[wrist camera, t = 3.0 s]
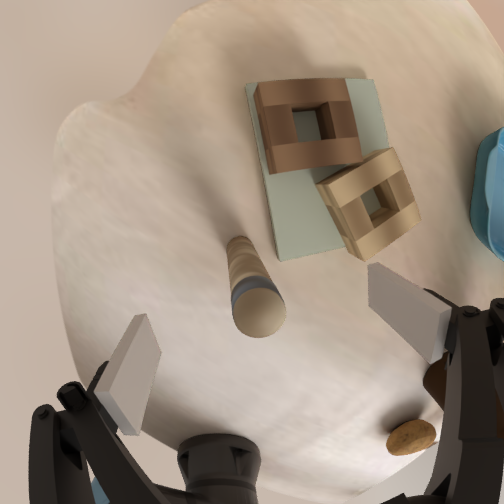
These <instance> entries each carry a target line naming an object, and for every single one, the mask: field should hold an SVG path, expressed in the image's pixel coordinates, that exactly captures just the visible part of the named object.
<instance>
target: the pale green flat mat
mask: <svg viewBox="0 0 504 504" xmlns="http://www.w3.org/2000/svg"><path fill="white" fill-rule="evenodd" d="M309 79H314V78H309ZM289 80H292V79H289ZM276 81H278V80H276ZM345 81H346V84H347V88H348V92H349V96H350V100H351V104H352V108H353V112H354V117H355V121H356V126H357V131H358V135H359V141H360V146H361V151H362V157H363V156H365V155H367V154H369V153H370V152H372V151H374V150H379V149H385V148H389V143H388V138H387V133H386V128H385V123H384V119H383V114H382V110H381V106H380V102H379V98H378V94H377V90H376V87H375V83H374V80H371V79H352V78H345ZM266 82H267V81H266ZM257 84H258V82H257V83H249V84H246V85H245V90H246V95H247V100H248V104H249V109H250V114H251V119H252V123H253V128H254V133H255V138H256V143H257V148H258V153H259V158H260V163H261V168H262V174H263V179H264V184H265V189H266V195H267V200H268V206H269V211H270V217H271V222H272V228H273V233H274V239H275V245H276V251H277V256H278V260H279V261H280V262H282V261H286V260H290V259H295V258H299V257H304V256H308V255H313V254H317V253H321V252H326V251H330V250H334V249H339V248H343V247H346V246H345V244H344V242H343V240H342V238H341V235H340V233H339V231H338V229H337V227H336V225H335V223H334V221H333V219H332V217H331V215H330V213H329V211H328V209H327V207H326V205H325V203H324V201H323V199H322V198H321V196H320V194H319V192H318V190H317V188H316V186H315V184H316V183H318V182H320V181H321V180H323V179H325V178H327V177H328V176H330V175H332V174H333V173H335V172H337V171H339V170H340V169H342V168H344V167H346V166H347V165H349V164H351V163H348V164H339V165H331V166H324V167H316V168H309V169H302V170H296V171H289V172H283V173H277V174H271V175H269V170H268V165H267V160H266V155H265V150H264V145H263V140H262V135H261V130H260V125H259V120H258V116H257V111H256V106H255V102H254V97H253V94H254V92H255V89H256V87H257ZM292 114H293V118H294V123H295V128H296V132H297V137H298V142H308V141H317V140H321V136H320V132H319V127H318V122H317V118H316V113H315V111H303V112H292ZM360 197H361V199H362V202H363V204H364V206H365V208H366V210H367V213H368V215H370V214H372V213H373V212H375V211H376V210H378V209H379V208H381V206H380V203H379V201H378V198H377V196H376V194H375V192H374V189H373V188H371V189H370V190H368V191H367V192H365V193H363V194H362V195H360Z"/></svg>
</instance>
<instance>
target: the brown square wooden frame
mask: <svg viewBox="0 0 504 504" xmlns="http://www.w3.org/2000/svg"><path fill="white" fill-rule="evenodd" d="M253 97H254V102H255V106H256V111H257V116H258V120H259V125H260V130H261V135H262V140H263V145H264V150H265V155H266V160H267V165H268V170H269V175H271V174H277V173H283V172H289V171H296V170H302V169H309V168H316V167H324V166H331V165H339V164H348V163H356V162H363V157H362V151H361V146H360V141H359V135H358V131H357V126H356V121H355V117H354V112H353V108H352V104H351V100H350V96H349V92H348V88H347V84H346V81H345V78H314V79H292V80H278V81H267V82H258V84H257V87H256V89H255V92H254V94H253ZM303 111H315V113H316V118H317V122H318V127H319V132H320V136H321V140H317V141H308V142H298V137H297V132H296V128H295V123H294V118H293V114H292V112H303Z"/></svg>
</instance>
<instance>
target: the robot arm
mask: <svg viewBox="0 0 504 504" xmlns="http://www.w3.org/2000/svg"><path fill="white" fill-rule="evenodd" d="M368 296H369V307H370V308H372V309H373V310H374V311H375V312H376V313H377V314H378V315H379V316H380V317H381V318H382V319H383V320H384V321H386V322H387V323H388V324H389V325H390V326H391V327H392V328H393V329H394V330H395V331H396V332H397V333H398V334H399V335H400V336H401V337H403V338H404V339H405V340H406V341H407V342H408V343H409V344H410V345H411V346H412V347H413V348H414V349H415V350H416V351H417V352H418V353H419V354H420V355H421V356H422V357H423V358H424V359H425V360H426V361H427V362H428V363H429V364H432V363H434V362H436V361H437V360H439V359H441V358H442V355H443V351H444V348H446V349H447V350H448V351H449V354H448V358H447V361H446V365H445V369H444V370H446V369H447V383H446V397H445V407H444V415H443V423H442V429H441V436H440V441H439V447H438V452H437V456H436V461H435V465H434V469H433V473H432V477H431V479H430V482H429V484H428V486H427V488H426V490H425V492H424V495H418V496H412V497H407V498H406V496H405V494H404V493H402V494H400V495H398V496H396V497H394V498H392V499H390V500H388V501H386V502H383V503H381V504H498V502H499V497H500V491H501V484H502V476H503V464H504V440H503V438H498V437H497V412H496V394H495V388H496V391H497V393H498V396H499V399H500V402H501V405H502V408H503V411H504V343H503V340H504V298H496V299H493V300H492V301H491V304H490V309H489V310H485V311H480V310H479V309H478V308H477V307H474V306H463V307H458V306H456V305H455V304H453V303H452V302H450V301H449V300H447V299H444V297H442V296H439V294H437V293H436V292H434V291H432V290H429V289H425V288H424V289H422V288H420V287H419V286H417V285H415V284H414V283H412V282H410V281H409V280H407V279H406V278H404V277H402V276H401V275H399V274H397V273H396V272H394V271H392V270H390V269H389V268H387V267H385V266H384V265H382V264H380V263H374V264H370V265H368ZM161 353H162V352H161V350H160V347H159V345H158V342H157V340H156V338H155V335H154V333H153V330H152V327H151V325H150V322H149V320H148V317H147V314H141V315H135V316H134V318H133V319H132V321H131V323H130V324H129V326H128V328H127V330H126V332H125V333H124V335H123V337H122V339H121V340H120V342H119V344H118V346H117V348H116V350H115V351H114V353H113V355H112V357H111V359H110V361H105V362H104V363H103V364H102V365H101V366H100V367H99V368H98V370H97V372H96V375H95V376H94V378H93V380H92V381H91V383H90V385H89V387H88V389H87V391H85V389H84V388H83V386H82V385H81V383H80V382H76V381H74V382H69V383H66V384H65V385H64V386H62V387H61V388H60V389H59V390H58V392H57V398H58V400H59V401H60V402H61V404H62V405H63V406H64V408H65V409H66V410H63V411H59V412H56V411H55V409H54V408H53V407H52V406H51V405H49V404H45V405H42V406H40V407H38V408H37V409H36V410H35V411H34V413H33V416H32V424H31V432H30V444H29V500H30V504H258V500H257V495H256V487H255V485H256V481H257V477H258V473H259V469H260V465H261V457H260V451H259V448H258V447H257V446H256V445H255V444H254V443H253V442H251V441H250V440H247V439H245V438H242V437H239V436H234V435H228V434H206V435H200V436H196V437H193V438H190V439H188V440H186V441H184V442H183V443H182V444H181V445H180V446H179V448H178V456H177V461H178V465H179V468H180V471H181V474H182V477H183V479H184V482H185V484H186V491H182V490H177V489H173V488H169V487H165V486H162V485H158V484H154V483H152V481H151V480H150V479H149V478H148V477H147V475H146V474H145V473H144V471H143V470H142V469H141V467H140V466H139V465H138V463H137V462H136V461H135V459H134V458H133V457H132V455H131V454H130V453H129V451H128V450H127V448H126V447H125V445H124V444H123V442H122V441H121V440H120V438H119V437H118V435H117V434H116V432H117V429H118V428H119V429H120V430H121V432H122V433H123V434H124V435H139V433H140V430H141V426H142V422H143V418H144V414H145V410H146V406H147V402H148V399H149V395H150V391H151V388H152V384H153V380H154V377H155V373H156V370H157V367H158V363H159V360H160V356H161ZM86 459H87V461H88V463H89V465H90V467H91V469H92V471H93V473H94V475H95V477H94V479H93V481H92V483H91V482H90V477H89V472H88V466H87V461H86Z"/></svg>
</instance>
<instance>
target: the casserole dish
mask: <svg viewBox="0 0 504 504" xmlns="http://www.w3.org/2000/svg"><path fill="white" fill-rule="evenodd" d="M470 218H471V224H472V228H473V230H474V232H475V234H476V236H477V237H478V239H479V240H480V241H481V242H482V243H483V244H484V245H485V246H486V247H487V248H488V249H489V250H491V251H492V252H493V253H494V254H495V255H496V256H497V257H498V258H499V259H501V260H502V261H504V127H502V128H500V129H499V130H497V131H495V132H493V133H492V134H490V135H488V136H487V137H486V138H485V139H484V140H483V141H482V143H481V144H480V147H479V150H478V154H477V161H476V170H475V178H474V186H473V193H472V200H471V208H470Z"/></svg>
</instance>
